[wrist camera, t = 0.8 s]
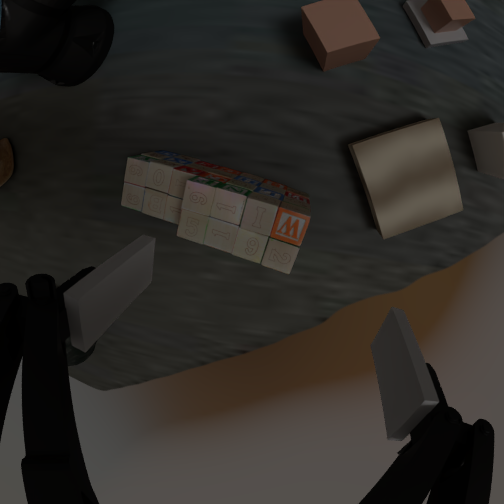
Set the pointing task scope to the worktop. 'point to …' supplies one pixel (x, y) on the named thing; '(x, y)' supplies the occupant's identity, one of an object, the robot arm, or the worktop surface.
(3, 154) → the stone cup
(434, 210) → the birch base block
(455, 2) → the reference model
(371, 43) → the terracotta block
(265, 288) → the worktop surface
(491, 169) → the off-white block
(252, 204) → the stack of blocks
